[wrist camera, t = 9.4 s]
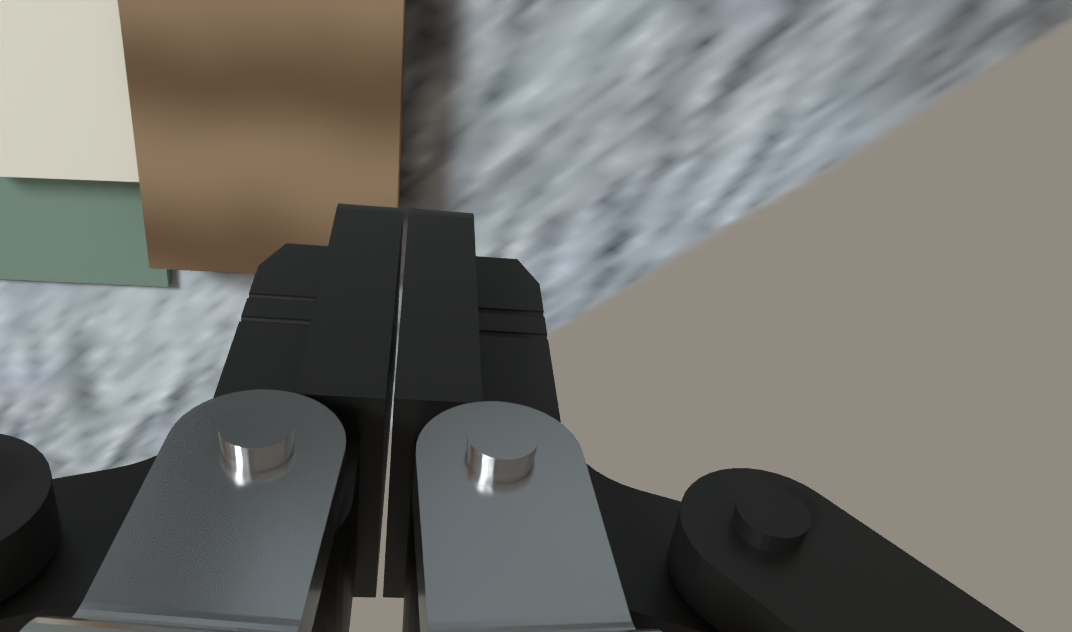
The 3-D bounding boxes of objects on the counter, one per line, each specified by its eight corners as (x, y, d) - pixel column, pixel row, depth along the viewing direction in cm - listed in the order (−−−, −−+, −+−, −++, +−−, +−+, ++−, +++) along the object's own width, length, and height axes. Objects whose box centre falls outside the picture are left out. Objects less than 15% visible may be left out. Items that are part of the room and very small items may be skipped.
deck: (116, -229, 30) (91, -225, 28) (412, -197, 31) (409, -190, 29) (166, 237, 38) (149, 268, 36) (397, 250, 39) (395, 280, 37)
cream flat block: (-86, -144, 30) (-112, -138, 29) (115, -130, 31) (100, -123, 29) (-17, 157, 35) (-35, 175, 34) (154, 164, 36) (143, 182, 35)
